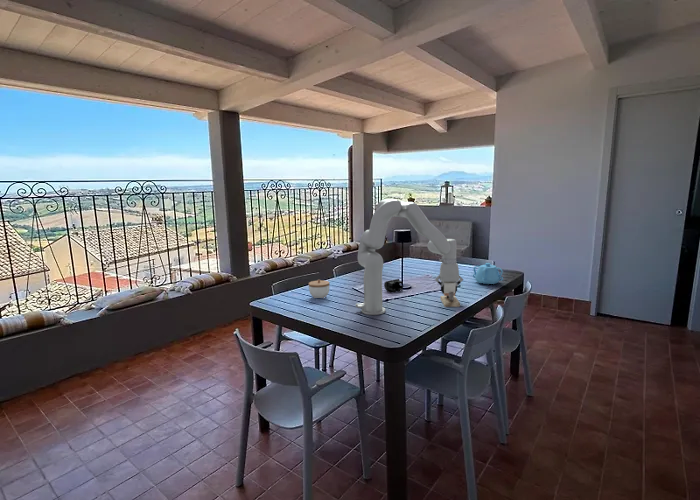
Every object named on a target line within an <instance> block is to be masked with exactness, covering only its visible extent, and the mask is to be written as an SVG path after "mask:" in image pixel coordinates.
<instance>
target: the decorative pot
mask: <svg viewBox="0 0 700 500" xmlns="http://www.w3.org/2000/svg"><path fill="white" fill-rule="evenodd" d="M476 268H477V270H476ZM499 270H500V271H499ZM503 273H504V271H503V269H502V268H501V267H497V266H496V265H494V264H492V263H490V262H485V264H482V265H475V266H474V267H473V274H472V278H474V280H475V281H476V282H477V283H478V284H479V283H483V285H484V284H485V285H489V284H493V285H495V284H497V283H499V282H500V281H503V280H504V277H502V275H503Z"/></svg>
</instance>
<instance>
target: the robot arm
mask: <svg viewBox="0 0 700 500" xmlns="http://www.w3.org/2000/svg"><path fill="white" fill-rule="evenodd" d="M376 208H377V209H376V210H375V211H374V213H373V215H372V218H371V220H370V225H369V228H368V229H366V230H365V231H363V232H362V233H361V236H360V239H359V245H358V251H357V262H358V264H359V265H360V266H361V267H363V268H364V272H363V302H362V303H355V308H357V309H361V313H362V314H365V315H367V316H378V315H382V314H384V313H386V308H385V307H383V269H384V259H383V256H382V255H381V254H380V253H379V252H376V250H379V249H381V248H382V247H384V244H385V240H386V234H387V228H388V224H389V222H390V220H391V219H392V218H393V217H396V218H397V217H398V218H405V219H406V220H407V221H408V222H409V223H410V224H411V226H412V228H413V229H414V230H415V231H416V232H417V233H418V234H419V235H420V236H423V237H424V238H425V239H427V240H429V241H428V243H427V249H428V251H429V252H431V253H433V254H438V255H442V257H441V258H440V259H439V262H440V268H439V274H438V276H436V278H434V280H435V282H437V284H438V285H440V292H441V293H442V294H443V293H444V282H454V283H456V289H455V294H457V292H458V286H459V285H460V284H461V282H463V281H464V278H463V277H461V275H460V270H459V269H460V268H459V264H458V263H457V246H458V245H457V240H456V239H454V238H447V237H446V236H445V235H444V234H443V232H441V230H440V229H438V228H437V227H436V226H435V225H434V224H433V223H431V222H430V221H429V219H428V218H427V216H426V215H425V213H424V212H423V211H422V209H421V208H420V206H419V205H418V203H416V202H413V201H399V200H398V199H395V198H386V199H381V200H379V202H378V203H377V207H376Z"/></svg>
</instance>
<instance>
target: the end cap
mask: <svg viewBox="0 0 700 500" xmlns="http://www.w3.org/2000/svg"><path fill="white" fill-rule="evenodd" d="M403 284H404V282H403V281H402V280H400V279H399V278H397V279H391V280H386V281H384V284H383V287H384V289H385V291H386V292H388V291H389V292H388V293H391V292H394V293H397V292H396V291H398V292H401V291H400V290H402V291H403V287H404V286H403Z"/></svg>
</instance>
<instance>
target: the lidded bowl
mask: <svg viewBox="0 0 700 500" xmlns="http://www.w3.org/2000/svg"><path fill="white" fill-rule="evenodd" d="M330 283H331V282H330V281H328V280H321V279H317V280H311V281H310V282H308V289H309V294H310V295H311V296H312V297H313V299H315V298H323V299H325V298H327V296H329V295H328V294H329V292H330ZM324 297H325V298H324Z"/></svg>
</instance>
